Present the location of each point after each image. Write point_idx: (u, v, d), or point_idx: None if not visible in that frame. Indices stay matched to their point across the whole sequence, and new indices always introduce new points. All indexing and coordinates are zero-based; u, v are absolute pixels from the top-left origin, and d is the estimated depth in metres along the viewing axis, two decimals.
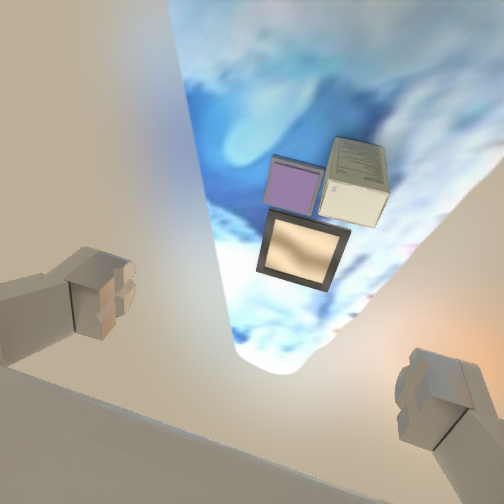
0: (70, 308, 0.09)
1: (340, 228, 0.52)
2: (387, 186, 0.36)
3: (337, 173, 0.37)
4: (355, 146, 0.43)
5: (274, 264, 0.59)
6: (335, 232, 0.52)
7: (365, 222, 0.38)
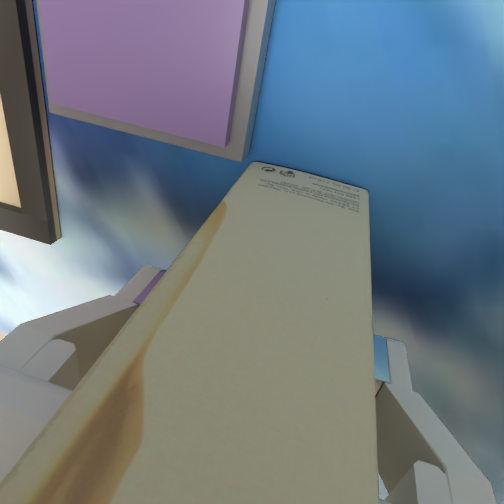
0: None
1: (51, 211, 0.16)
2: None
3: None
4: None
5: None
6: (31, 198, 0.15)
7: None
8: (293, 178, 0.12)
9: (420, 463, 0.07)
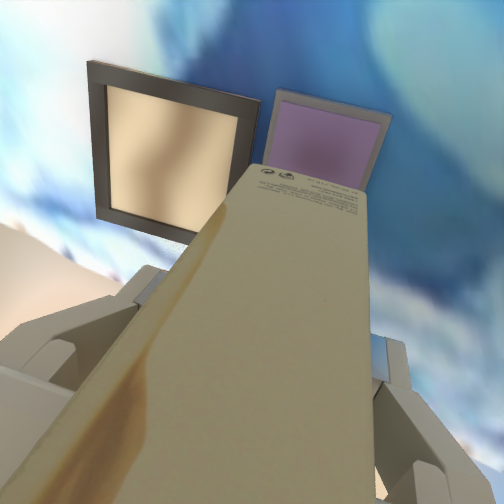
0: None
1: None
2: None
3: None
4: None
5: (120, 109, 0.26)
6: None
7: None
8: (292, 180, 0.12)
9: (419, 462, 0.07)
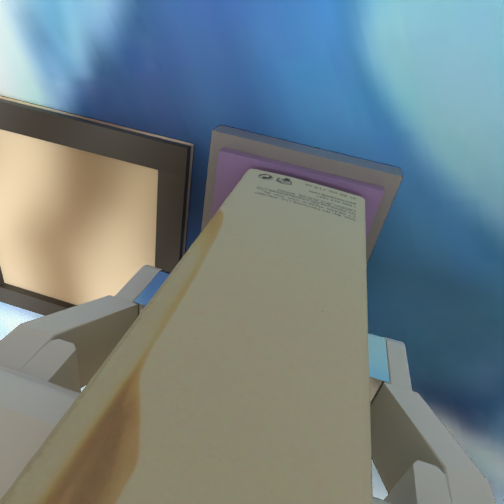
0: None
1: None
2: None
3: None
4: None
5: None
6: None
7: None
8: (290, 185, 0.12)
9: (419, 463, 0.07)
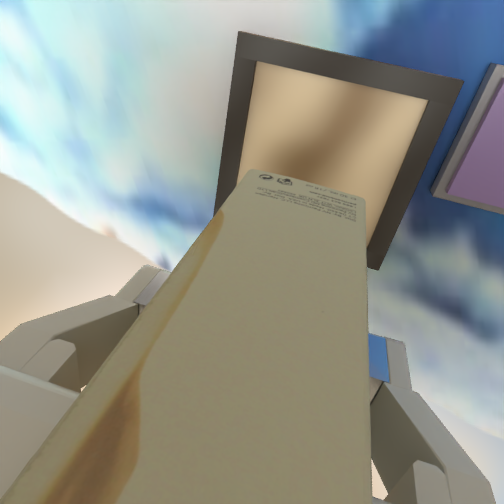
0: None
1: None
2: None
3: None
4: None
5: (269, 91, 0.21)
6: (380, 242, 0.24)
7: None
8: (290, 186, 0.12)
9: (419, 463, 0.07)
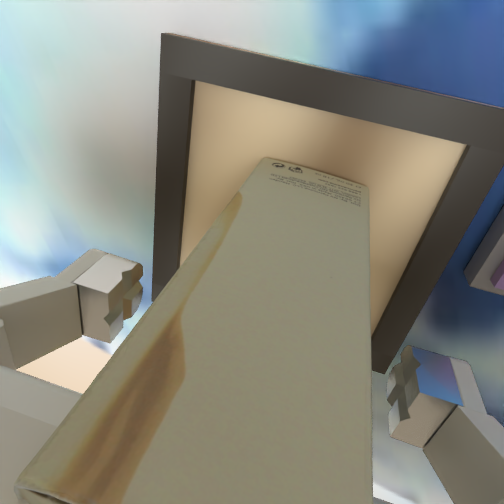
0: (78, 311, 0.09)
1: None
2: None
3: None
4: None
5: (217, 125, 0.14)
6: (388, 339, 0.16)
7: None
8: (301, 174, 0.13)
9: None
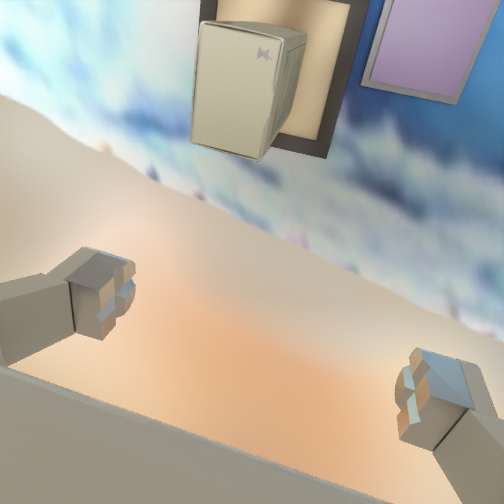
0: (70, 308, 0.09)
1: None
2: (266, 150, 0.21)
3: (286, 54, 0.19)
4: (297, 72, 0.27)
5: (230, 6, 0.27)
6: (325, 132, 0.30)
7: (199, 125, 0.20)
8: (273, 25, 0.27)
9: None
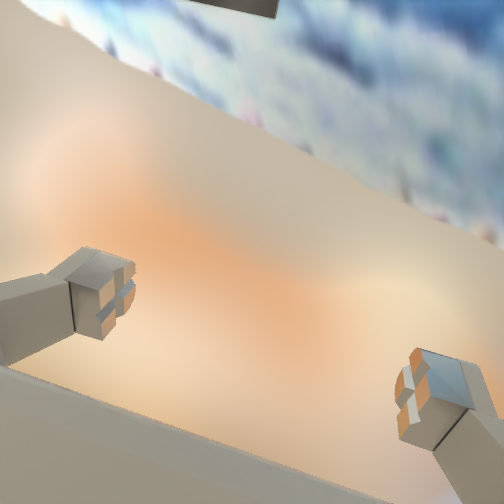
0: (70, 308, 0.09)
1: None
2: None
3: None
4: None
5: None
6: None
7: None
8: None
9: None
